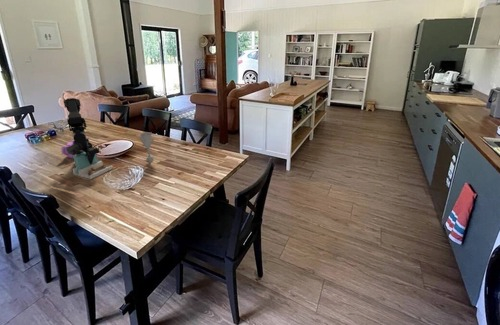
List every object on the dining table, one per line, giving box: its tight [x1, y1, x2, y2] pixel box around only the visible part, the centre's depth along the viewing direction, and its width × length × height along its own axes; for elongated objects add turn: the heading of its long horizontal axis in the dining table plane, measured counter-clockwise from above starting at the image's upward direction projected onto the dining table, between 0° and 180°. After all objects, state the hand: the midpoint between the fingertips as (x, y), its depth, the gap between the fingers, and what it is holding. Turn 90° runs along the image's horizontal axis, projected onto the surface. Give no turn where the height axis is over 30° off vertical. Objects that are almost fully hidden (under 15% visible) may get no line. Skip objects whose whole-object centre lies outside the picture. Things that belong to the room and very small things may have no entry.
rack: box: [72, 160, 114, 180], centre depth 159 cm, size 14×15×4 cm
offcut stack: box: [88, 164, 108, 176], centre depth 158 cm, size 5×10×4 cm, turn 157°
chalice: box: [139, 131, 155, 163], centre depth 174 cm, size 7×7×18 cm
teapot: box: [60, 136, 90, 160], centre depth 184 cm, size 13×20×11 cm
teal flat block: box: [73, 152, 99, 174], centre depth 159 cm, size 3×12×11 cm, turn 157°
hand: (87, 163), depth 159 cm, fingers open, 6 cm apart
